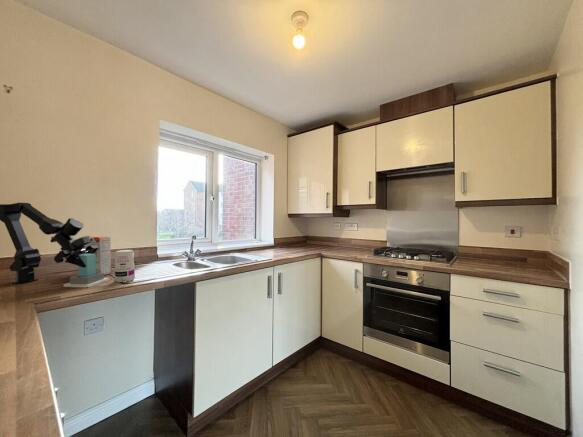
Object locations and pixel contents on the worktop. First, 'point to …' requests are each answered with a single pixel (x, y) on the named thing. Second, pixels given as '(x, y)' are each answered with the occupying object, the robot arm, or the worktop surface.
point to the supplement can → (124, 265)
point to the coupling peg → (87, 265)
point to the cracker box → (101, 253)
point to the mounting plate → (86, 280)
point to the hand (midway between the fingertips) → (89, 265)
